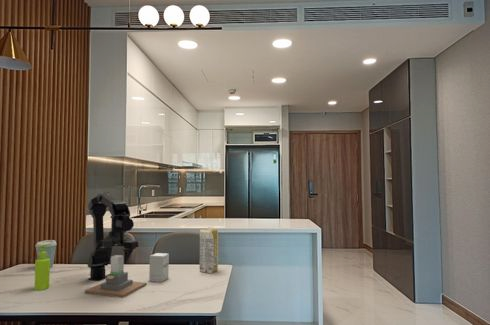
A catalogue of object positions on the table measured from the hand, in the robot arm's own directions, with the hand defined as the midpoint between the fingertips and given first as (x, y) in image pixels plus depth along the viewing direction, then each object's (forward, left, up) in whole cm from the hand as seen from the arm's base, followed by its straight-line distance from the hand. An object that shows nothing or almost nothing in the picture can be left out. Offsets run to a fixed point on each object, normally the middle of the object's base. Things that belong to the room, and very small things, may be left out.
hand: (117, 262), depth 162 cm
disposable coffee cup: (-63, +22, -12) cm, 68 cm away
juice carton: (+29, +41, -12) cm, 52 cm away
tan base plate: (0, 0, -12) cm, 12 cm away
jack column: (0, 0, -7) cm, 7 cm away
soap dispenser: (-34, -8, -12) cm, 37 cm away
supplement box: (+11, +19, -12) cm, 25 cm away
